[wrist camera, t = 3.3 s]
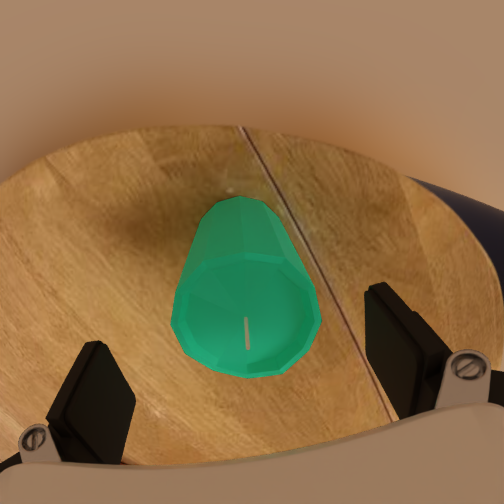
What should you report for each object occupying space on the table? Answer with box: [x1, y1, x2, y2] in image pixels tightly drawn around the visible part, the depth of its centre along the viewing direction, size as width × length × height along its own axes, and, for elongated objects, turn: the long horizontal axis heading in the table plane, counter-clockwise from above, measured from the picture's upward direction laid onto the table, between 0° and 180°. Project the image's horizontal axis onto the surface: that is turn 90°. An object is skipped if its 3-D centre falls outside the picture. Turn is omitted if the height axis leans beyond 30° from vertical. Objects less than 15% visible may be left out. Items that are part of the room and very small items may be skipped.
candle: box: [170, 196, 322, 379], centre depth 17 cm, size 6×6×12 cm
